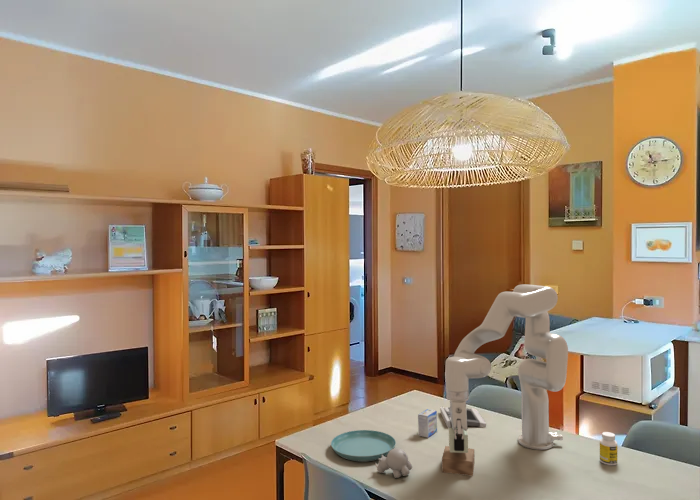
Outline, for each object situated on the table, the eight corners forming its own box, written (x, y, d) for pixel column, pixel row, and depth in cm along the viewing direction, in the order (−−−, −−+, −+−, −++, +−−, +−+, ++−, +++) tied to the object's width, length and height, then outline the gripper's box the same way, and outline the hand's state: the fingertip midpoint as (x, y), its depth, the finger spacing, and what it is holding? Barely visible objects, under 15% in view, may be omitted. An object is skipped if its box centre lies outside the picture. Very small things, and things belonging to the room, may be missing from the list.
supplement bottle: (610, 467, 166) (610, 438, 166) (596, 461, 171) (595, 433, 171) (621, 463, 169) (620, 435, 169) (606, 457, 174) (606, 429, 173)
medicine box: (428, 438, 194) (427, 416, 194) (418, 435, 197) (417, 414, 196) (437, 431, 200) (437, 410, 200) (427, 429, 203) (427, 408, 203)
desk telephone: (440, 406, 221) (476, 402, 221) (441, 416, 221) (477, 413, 221) (447, 421, 204) (486, 417, 203) (448, 432, 204) (487, 428, 204)
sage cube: (466, 445, 172) (466, 428, 172) (468, 452, 166) (467, 435, 166) (448, 444, 173) (448, 427, 172) (449, 452, 167) (449, 434, 167)
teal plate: (409, 448, 186) (408, 439, 186) (366, 472, 168) (366, 462, 168) (361, 432, 202) (360, 424, 202) (317, 452, 185) (317, 443, 184)
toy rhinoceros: (385, 474, 171) (375, 450, 172) (415, 467, 166) (406, 442, 167) (377, 484, 164) (367, 459, 166) (409, 476, 160) (399, 450, 161)
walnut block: (474, 463, 173) (474, 448, 173) (472, 476, 163) (472, 461, 163) (445, 460, 176) (445, 446, 176) (442, 473, 166) (441, 458, 166)
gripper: (471, 402, 160) (472, 458, 160) (466, 386, 177) (467, 436, 177) (447, 402, 161) (448, 457, 161) (444, 386, 178) (445, 435, 178)
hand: (458, 445), depth 169 cm, fingers closed on sage cube, 5 cm apart
